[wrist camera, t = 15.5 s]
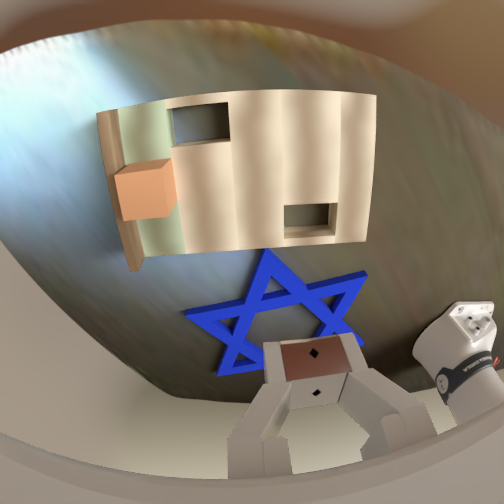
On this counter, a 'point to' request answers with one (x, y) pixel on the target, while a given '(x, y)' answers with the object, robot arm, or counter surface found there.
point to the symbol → (261, 302)
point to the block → (146, 189)
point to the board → (248, 170)
